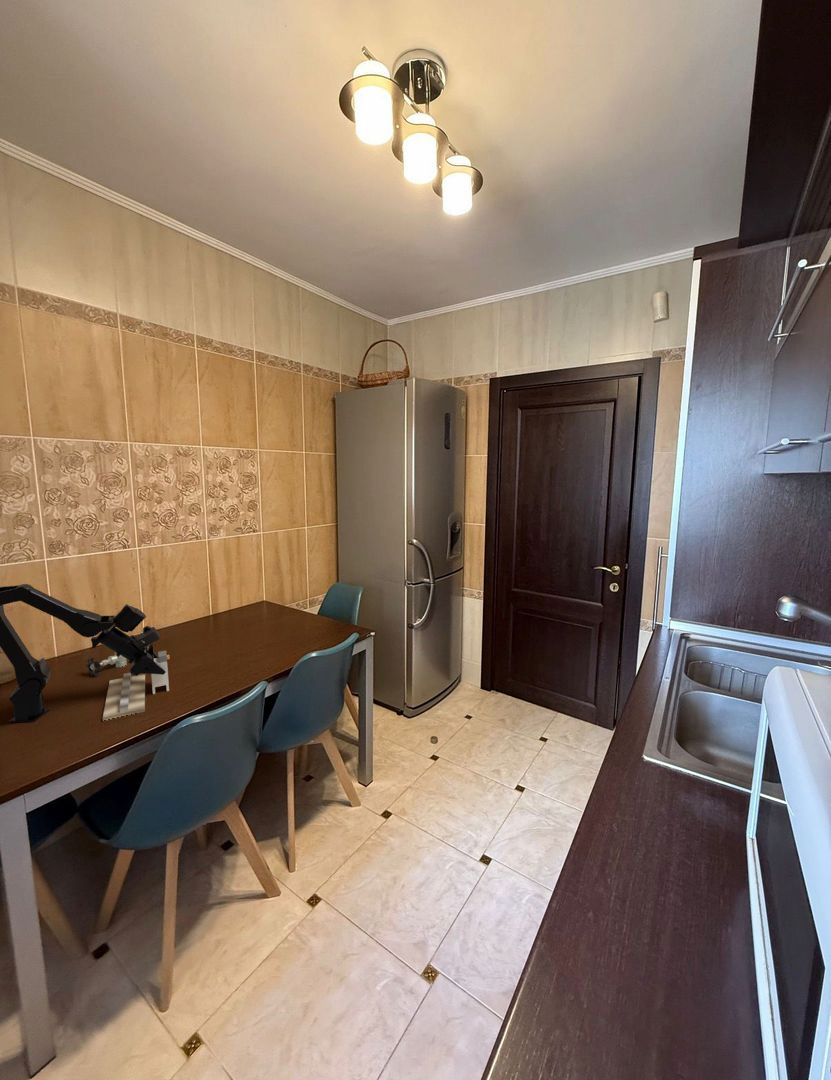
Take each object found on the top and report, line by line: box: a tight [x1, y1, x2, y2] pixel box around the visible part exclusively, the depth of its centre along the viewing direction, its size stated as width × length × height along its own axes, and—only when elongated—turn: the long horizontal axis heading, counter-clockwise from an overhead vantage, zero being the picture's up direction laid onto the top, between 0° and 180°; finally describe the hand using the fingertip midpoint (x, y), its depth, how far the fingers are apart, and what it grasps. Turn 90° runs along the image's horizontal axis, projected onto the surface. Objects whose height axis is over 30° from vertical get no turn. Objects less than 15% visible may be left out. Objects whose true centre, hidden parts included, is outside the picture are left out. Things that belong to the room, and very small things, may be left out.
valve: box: [85, 652, 128, 677], centre depth 155 cm, size 7×7×12 cm
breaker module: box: [150, 650, 170, 695], centre depth 141 cm, size 4×5×12 cm
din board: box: [102, 672, 146, 722], centre depth 137 cm, size 26×10×3 cm, turn 31°
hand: (164, 669), depth 142 cm, fingers open, 6 cm apart
